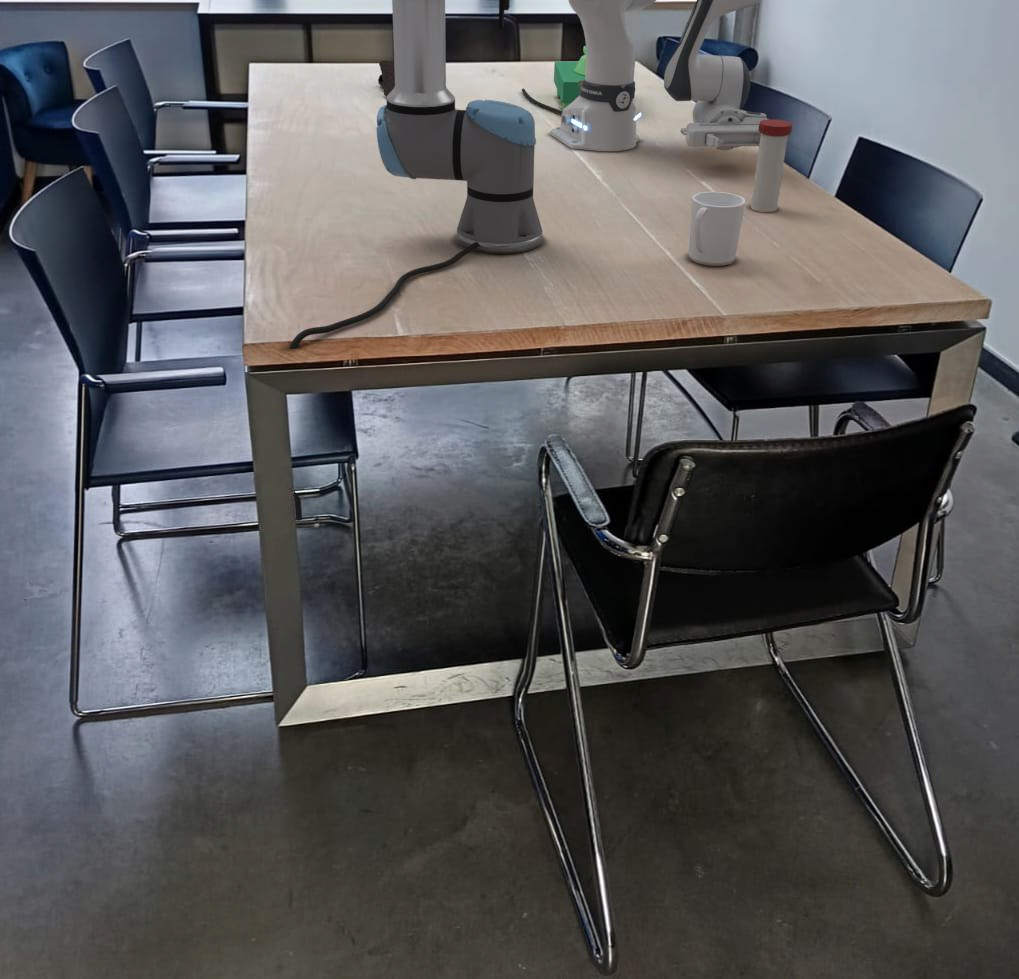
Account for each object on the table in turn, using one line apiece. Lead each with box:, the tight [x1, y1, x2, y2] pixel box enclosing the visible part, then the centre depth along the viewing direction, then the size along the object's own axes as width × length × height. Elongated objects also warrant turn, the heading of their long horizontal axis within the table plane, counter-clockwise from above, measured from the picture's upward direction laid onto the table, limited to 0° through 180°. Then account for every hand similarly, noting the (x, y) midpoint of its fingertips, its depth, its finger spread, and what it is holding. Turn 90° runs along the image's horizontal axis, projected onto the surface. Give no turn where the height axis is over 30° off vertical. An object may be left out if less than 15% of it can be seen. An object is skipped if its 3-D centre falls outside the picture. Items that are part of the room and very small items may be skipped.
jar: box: [750, 133, 789, 213], centre depth 211 cm, size 5×5×16 cm
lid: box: [758, 118, 793, 136], centre depth 207 cm, size 6×6×2 cm
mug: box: [687, 191, 747, 267], centre depth 186 cm, size 11×9×10 cm
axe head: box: [377, 59, 395, 97], centre depth 299 cm, size 18×8×15 cm
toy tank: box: [553, 45, 586, 111], centre depth 289 cm, size 18×12×35 cm
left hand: (468, 26), depth 224 cm, fingers open, 13 cm apart
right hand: (742, 143), depth 228 cm, fingers open, 8 cm apart
